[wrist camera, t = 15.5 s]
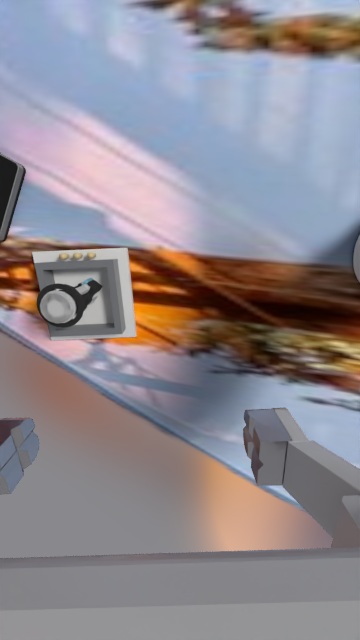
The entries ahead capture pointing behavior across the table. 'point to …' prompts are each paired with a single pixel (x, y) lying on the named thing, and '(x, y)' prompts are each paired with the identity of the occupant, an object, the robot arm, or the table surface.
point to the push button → (66, 302)
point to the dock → (113, 299)
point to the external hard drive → (9, 191)
